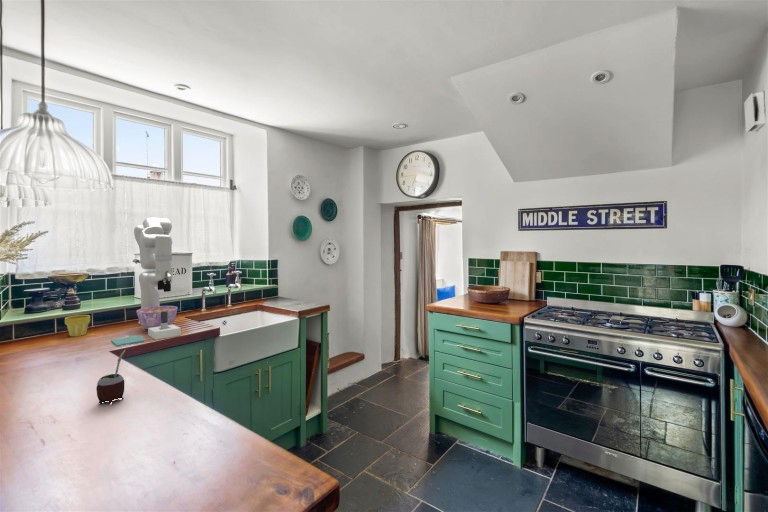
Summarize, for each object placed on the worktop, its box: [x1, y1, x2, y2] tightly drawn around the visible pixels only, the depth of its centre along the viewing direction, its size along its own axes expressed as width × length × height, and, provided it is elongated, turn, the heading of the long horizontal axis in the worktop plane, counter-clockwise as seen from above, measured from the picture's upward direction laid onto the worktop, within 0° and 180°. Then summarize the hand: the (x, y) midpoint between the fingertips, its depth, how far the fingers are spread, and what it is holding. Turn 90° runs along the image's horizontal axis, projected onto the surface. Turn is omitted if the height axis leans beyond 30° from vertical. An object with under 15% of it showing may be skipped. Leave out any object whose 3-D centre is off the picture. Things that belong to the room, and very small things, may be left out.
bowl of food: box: [135, 305, 178, 330], centre depth 205 cm, size 20×20×12 cm
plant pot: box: [64, 314, 91, 337], centre depth 192 cm, size 10×10×10 cm
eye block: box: [147, 323, 182, 341], centre depth 192 cm, size 12×12×4 cm
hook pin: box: [161, 311, 168, 330], centre depth 192 cm, size 3×3×13 cm
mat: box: [110, 335, 147, 347], centre depth 180 cm, size 12×12×1 cm
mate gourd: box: [95, 349, 127, 404], centre depth 114 cm, size 8×8×15 cm
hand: (164, 290), depth 191 cm, fingers open, 9 cm apart
